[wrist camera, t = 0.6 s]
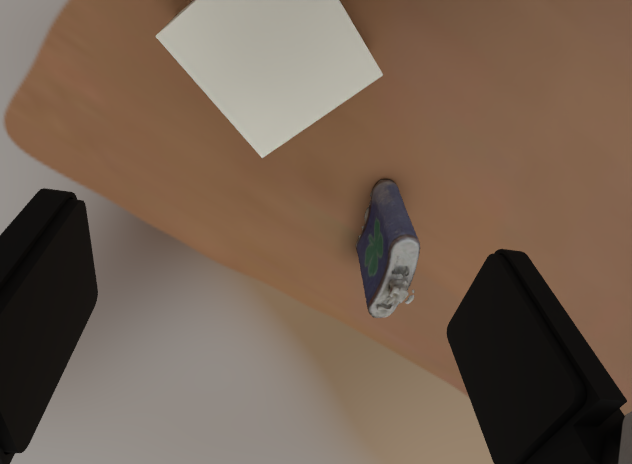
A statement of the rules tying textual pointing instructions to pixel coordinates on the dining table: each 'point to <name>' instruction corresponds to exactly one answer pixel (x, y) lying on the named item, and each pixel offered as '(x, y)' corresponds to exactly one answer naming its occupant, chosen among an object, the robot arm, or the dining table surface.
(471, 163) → the dining table surface
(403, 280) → the flask
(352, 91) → the cream box
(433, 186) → the dining table surface
